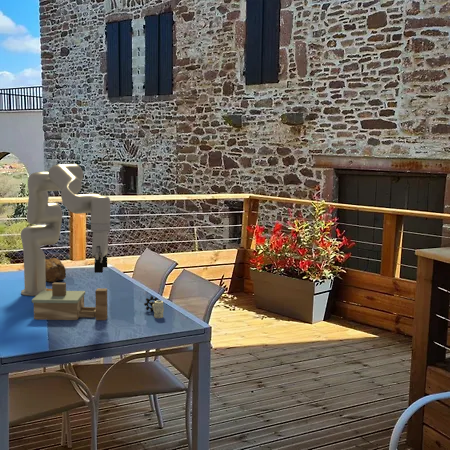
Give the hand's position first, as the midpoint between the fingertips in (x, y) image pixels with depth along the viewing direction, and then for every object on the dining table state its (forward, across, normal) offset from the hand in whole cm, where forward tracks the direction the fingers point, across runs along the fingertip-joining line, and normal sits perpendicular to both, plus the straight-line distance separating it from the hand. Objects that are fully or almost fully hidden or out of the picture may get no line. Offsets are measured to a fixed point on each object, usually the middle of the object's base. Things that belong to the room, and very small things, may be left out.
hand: (101, 269), depth 242 cm
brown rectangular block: (+20, 0, 0) cm, 20 cm away
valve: (+20, -7, +21) cm, 30 cm away
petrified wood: (+21, -69, -38) cm, 81 cm away
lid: (+13, -5, -18) cm, 23 cm away
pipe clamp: (+21, -17, -28) cm, 39 cm away
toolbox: (+20, -5, -15) cm, 25 cm away
